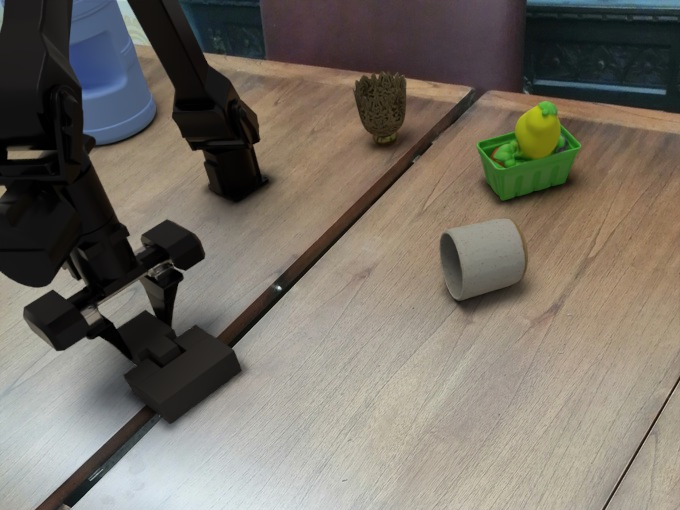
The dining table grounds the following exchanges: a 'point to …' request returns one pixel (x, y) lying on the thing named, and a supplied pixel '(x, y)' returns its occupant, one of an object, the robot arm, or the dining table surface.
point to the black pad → (149, 339)
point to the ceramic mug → (482, 257)
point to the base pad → (184, 374)
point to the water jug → (107, 72)
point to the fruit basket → (529, 154)
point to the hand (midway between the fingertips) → (148, 345)
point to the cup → (381, 105)
